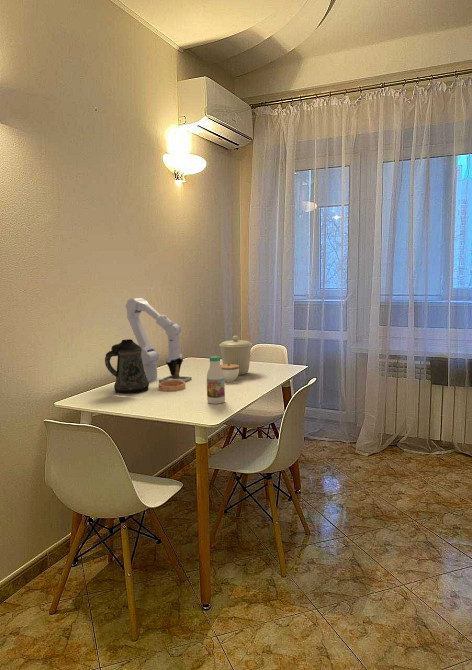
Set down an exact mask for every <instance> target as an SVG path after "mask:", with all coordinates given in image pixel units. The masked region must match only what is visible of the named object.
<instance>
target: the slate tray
mask: <svg viewBox="0 0 472 670" xmlns="http://www.w3.org/2000/svg"><path fill="white" fill-rule="evenodd" d="M192 380H193V379H192V377H191V376H181V375H179V378H178V379H172V376H171V375H168V376H165V377H163V378H161V379H158V384H159V383H161V382H165V381H183V382H185V383H188V382H190V381H192Z"/></svg>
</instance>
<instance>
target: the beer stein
mask: <svg viewBox="0 0 472 670" xmlns="http://www.w3.org/2000/svg"><path fill="white" fill-rule="evenodd" d="M141 352H142V348H141V347H140V346H139V344H138V343H136V342H135V341H133V339H130V338H129V339H128V338H127V339H123V340H121V342H119V343H117V344H116V343H115V344H113V345H112V346H111V348H110V351H108V352H107V353H106V354H105V357H104V364H105V368H106V369H107V370H108V372H109V373H111V375H112V376H114V377H116V378H115V382H114V385H113V387H114V392H115V393H116V394H122V395H123V394H124V395H133V394H139V393H140V394H141V393H144V392H147V391H148V390H149V387H150V381H148V380H147V378H146V375H145V371H144V367H143V362H142V357H141ZM112 357H117V363H116V369H115V368H114V367H113V366H112V364H111V359H112Z"/></svg>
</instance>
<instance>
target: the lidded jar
mask: <svg viewBox="0 0 472 670" xmlns="http://www.w3.org/2000/svg"><path fill="white" fill-rule="evenodd" d="M220 366H221V368H222V370H223V373H224V382H225V381H226V382H228V383H229V382H230V383H231V382H232V383H233V382H235V381H236V379H237V378H238V377H239V375H238V374H239V365H237V364H230V363H228V364H223V363H222V364H220ZM226 382H225V383H226Z"/></svg>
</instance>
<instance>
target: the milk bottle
mask: <svg viewBox="0 0 472 670" xmlns="http://www.w3.org/2000/svg"><path fill="white" fill-rule="evenodd" d="M209 363H210V364H209V368H208V370H207V372H206V373H207V374H206V399H207V403H209V404H211V405H215V404H216V405H218V404H223V403H225V401H226V387H225V386H226V385H225V383H226V382H225V381H224V373H223V370H222V368H221V366H220V365H221V356H218V355H212V356H210V357H209Z"/></svg>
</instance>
